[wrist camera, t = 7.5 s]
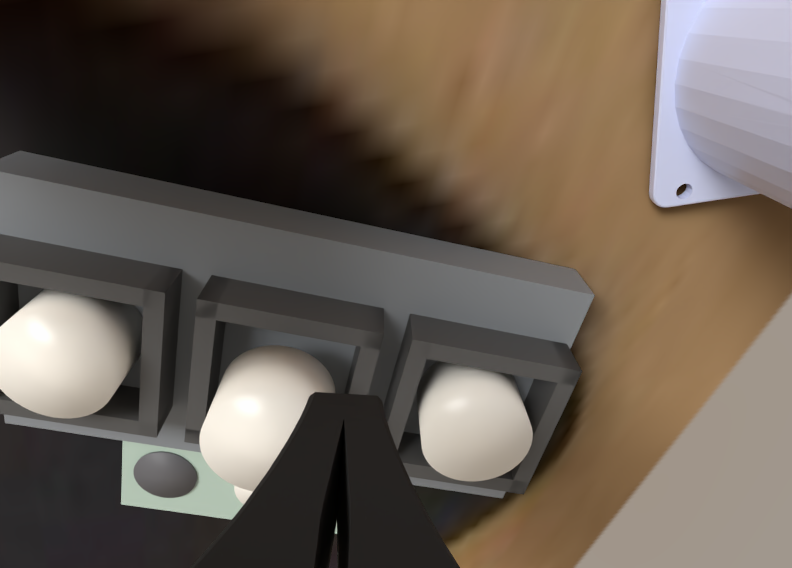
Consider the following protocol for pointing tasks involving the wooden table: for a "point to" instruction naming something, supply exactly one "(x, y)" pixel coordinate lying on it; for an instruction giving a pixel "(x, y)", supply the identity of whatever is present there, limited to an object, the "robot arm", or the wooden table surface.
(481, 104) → the wooden table surface
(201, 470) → the card
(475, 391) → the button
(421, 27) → the wooden table surface
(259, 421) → the button middle
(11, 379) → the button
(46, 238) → the board
